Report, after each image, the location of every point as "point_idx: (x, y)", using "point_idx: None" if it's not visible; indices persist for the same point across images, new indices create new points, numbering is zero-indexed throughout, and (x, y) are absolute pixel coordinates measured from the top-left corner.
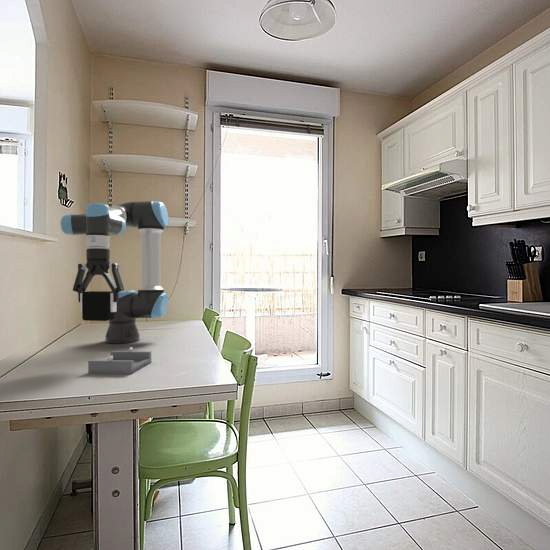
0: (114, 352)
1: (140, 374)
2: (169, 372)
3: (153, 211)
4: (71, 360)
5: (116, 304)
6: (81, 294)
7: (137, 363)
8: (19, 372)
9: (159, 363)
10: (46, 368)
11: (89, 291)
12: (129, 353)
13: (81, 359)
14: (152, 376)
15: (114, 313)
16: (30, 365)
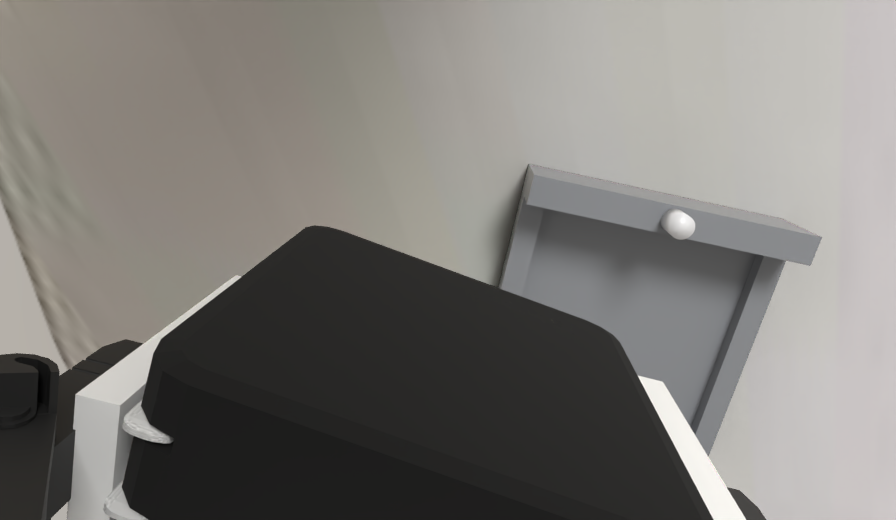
0: (556, 210)
1: (734, 472)
2: (882, 460)
3: None
4: (237, 63)
5: (693, 434)
6: (104, 518)
7: (720, 377)
8: (106, 334)
9: (834, 247)
10: (196, 268)
11: (199, 517)
12: (662, 231)
13: (291, 39)
14: (795, 515)
15: (628, 361)
16: (59, 176)
